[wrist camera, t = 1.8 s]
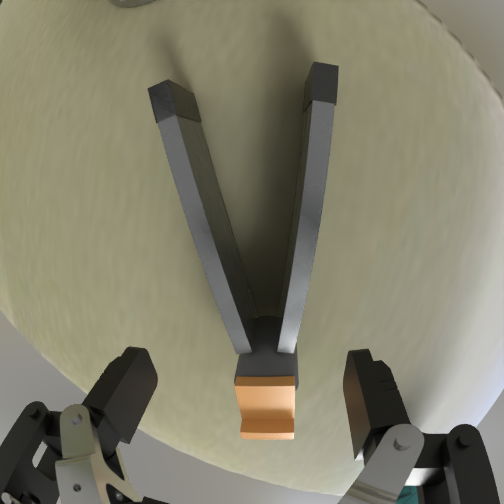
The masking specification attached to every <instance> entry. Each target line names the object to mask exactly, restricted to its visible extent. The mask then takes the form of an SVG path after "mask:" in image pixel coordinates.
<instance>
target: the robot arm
mask: <svg viewBox="0 0 504 504" xmlns="http://www.w3.org/2000/svg"><path fill="white" fill-rule="evenodd" d="M108 1H110V2H111V3H113V4H114V5H116V6H119V7H135V6H140V5H143V4H147V3H149V2H151V1H154V0H108ZM157 382H158V377H157V373H156V370H155V368H154V366H153V363H152V361H151V358H150V356H149V353H148V351H147V350H146V349H145V348H138V347H127V348H126V350H125V351H124V353H123V354H122V355H121V357H119V356H118V357H117V358H116V359H114V360H113V361H112V362H110V363H109V365H108V366H107V368H106V369H105V370H104V373H102V375H101V376H100V378H99V380H97V382H96V383H95V385H94V386H93V388H92V389H91V391H90V392H89V394H88V395H87V397H86V398H85V400H84V401H83V403H82V404H74V405H70V406H68V407H67V408H66V409H64V411H63V412H56V411H49V410H48V409H47V407H46V406H45V405H44V404H43V403H42V402H39V401H35V402H32V403H30V404H29V405H27V406H26V407H25V409H24V410H23V412H22V413H21V415H20V416H19V418H18V419H17V421H16V422H15V424H14V425H13V427H12V428H11V430H10V431H9V433H8V435H7V436H6V438H5V440H4V441H3V443H2V445H1V446H0V504H56V502H57V500H58V498H59V495H60V499H61V504H169V503H165V502H161V501H158V500H154V499H151V498H147V497H144V498H143V501H141V499H140V497H139V495H138V494H137V492H136V491H135V489H134V488H133V487H132V485H131V483H130V481H129V478H128V475H127V472H126V469H125V467H124V464H123V460H122V457H121V454H120V450H119V448H118V447H117V445H118V443H119V441H121V442H124V443H127V444H130V442H131V439H132V437H133V435H134V433H135V431H136V429H137V427H138V424H139V422H140V420H141V418H142V416H143V414H144V412H145V410H146V408H147V405H148V403H149V401H150V399H151V397H152V395H153V393H154V391H155V389H156V387H157ZM397 388H398V387H397V385H396V382H395V381H394V377H393V374H392V372H391V369H390V368H389V367H388V366H387V365H386V364H385V363H384V362H383V361H382V360H379V361H373V359H372V356H371V353H370V351H369V349H360V350H351V351H349V352H348V356H347V361H346V367H345V372H344V378H343V391H344V397H345V402H346V408H347V414H348V419H349V425H350V431H351V438H352V444H353V451H354V458H355V461H356V460H362V459H364V466H365V467H364V469H363V470H362V472H361V473H360V475H359V476H358V477H357V479H356V480H355V482H354V483H353V484H352V486H351V487H350V488H349V490H348V491H347V492H346V494H345V495H344V496H343V497H342V499H341V500H340V501H339V503H338V504H397V501H396V500H397V498H398V496H399V494H400V492H401V490H402V489H403V487H404V485H416V488H417V495H418V503H419V504H500V501H499V497H498V492H497V487H496V484H495V479H494V475H493V472H492V468H491V465H490V462H489V458H488V455H487V452H486V449H485V446H484V443H483V440H482V438H481V435H480V433H479V431H478V430H477V429H476V428H475V427H474V426H472V425H469V424H461V425H458V426H456V427H454V428H453V429H452V430H451V431H450V432H449V434H426V433H423V432H421V431H420V430H419V429H418V428H417V427H415V426H413V425H412V424H411V423H410V421H409V418H408V415H407V412H406V409H405V407H404V404H403V401H402V398H401V396H400V393H399V390H398V389H397ZM42 441H43V442H44V443H45V444H46V445H47V446H48V447H47V449H46V451H45V453H44V454H43V456H42V458H41V460H40V462H39V464H38V466H37V467H36V468H35V467H34V466H33V463H32V459H33V456H34V454H35V453H36V451H37V449H38V447H39V445H40V444H41V442H42Z"/></svg>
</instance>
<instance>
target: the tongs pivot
mask: <svg viewBox="0 0 504 504" xmlns="http://www.w3.org/2000/svg"><path fill="white" fill-rule="evenodd" d="M277 343H278V317H276V316H263V317H259V318H257V322H256V329H255V336H254V343H253V350H252V352H250V353H242V354H239V359H238V364H237V369H236V374H235V379H234V383H235V382H236V377H237V376H240V377H281V376H295V391H296V390H297V388H298V384H299V381H298V359H297V341H296V345H295V349H294V353H284V352H277Z"/></svg>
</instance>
